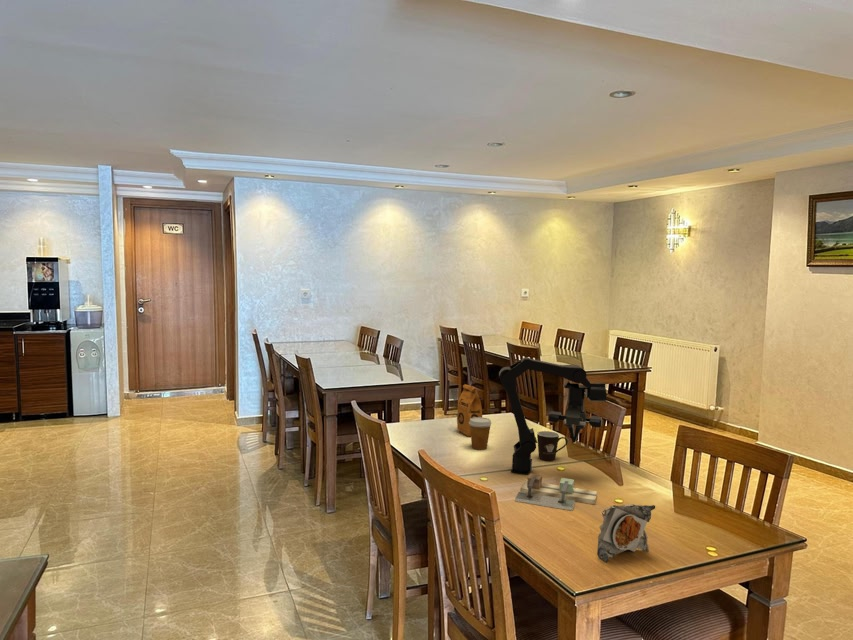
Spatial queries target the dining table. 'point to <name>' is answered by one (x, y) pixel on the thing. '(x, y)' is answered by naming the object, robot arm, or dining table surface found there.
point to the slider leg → (566, 487)
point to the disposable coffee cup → (479, 432)
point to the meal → (623, 530)
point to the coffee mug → (548, 445)
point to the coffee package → (468, 409)
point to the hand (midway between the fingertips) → (574, 442)
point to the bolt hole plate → (545, 501)
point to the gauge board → (556, 490)
